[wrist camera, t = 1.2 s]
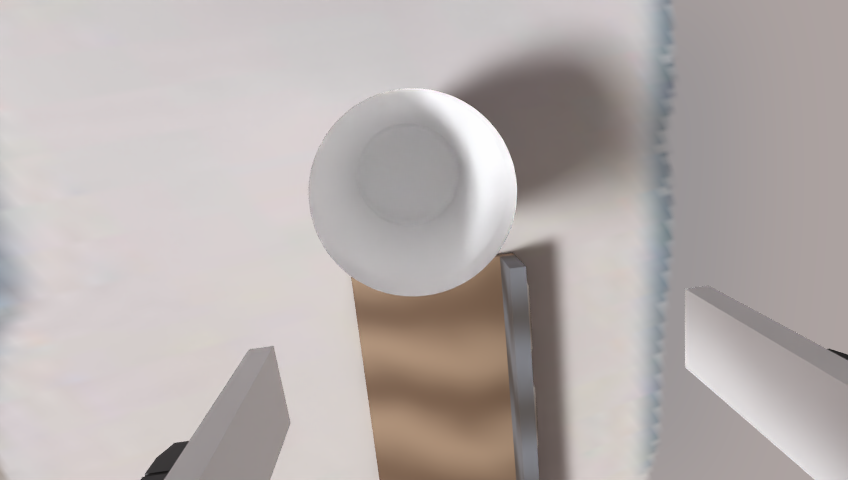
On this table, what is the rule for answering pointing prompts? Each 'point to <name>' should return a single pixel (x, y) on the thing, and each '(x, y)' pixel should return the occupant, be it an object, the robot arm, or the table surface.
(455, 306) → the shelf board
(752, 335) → the robot arm
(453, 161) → the cup
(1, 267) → the table surface
